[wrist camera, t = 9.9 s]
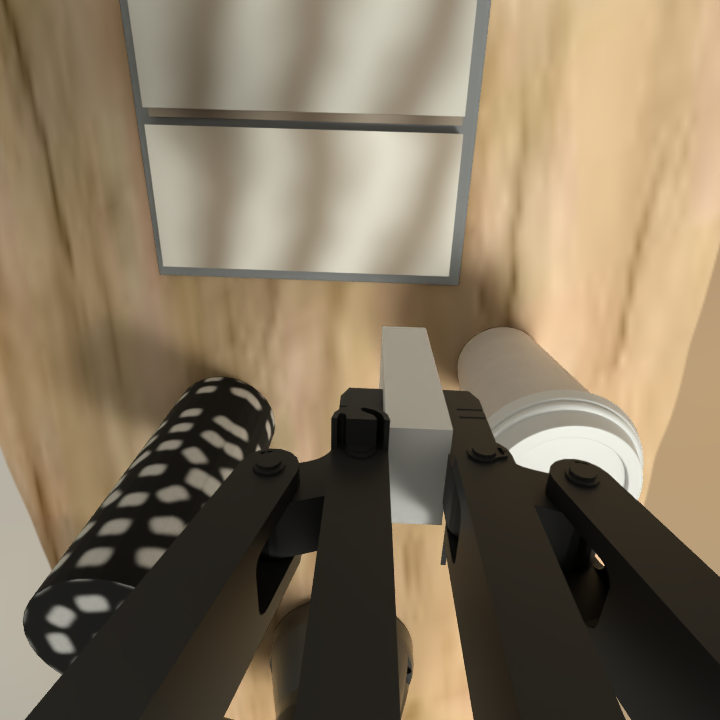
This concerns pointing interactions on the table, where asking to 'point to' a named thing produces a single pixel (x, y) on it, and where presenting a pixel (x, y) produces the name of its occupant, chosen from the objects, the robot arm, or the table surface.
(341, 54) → the laid board
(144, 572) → the spotted tube
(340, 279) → the underlay
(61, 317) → the table surface
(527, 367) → the coffee cup
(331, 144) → the plank
